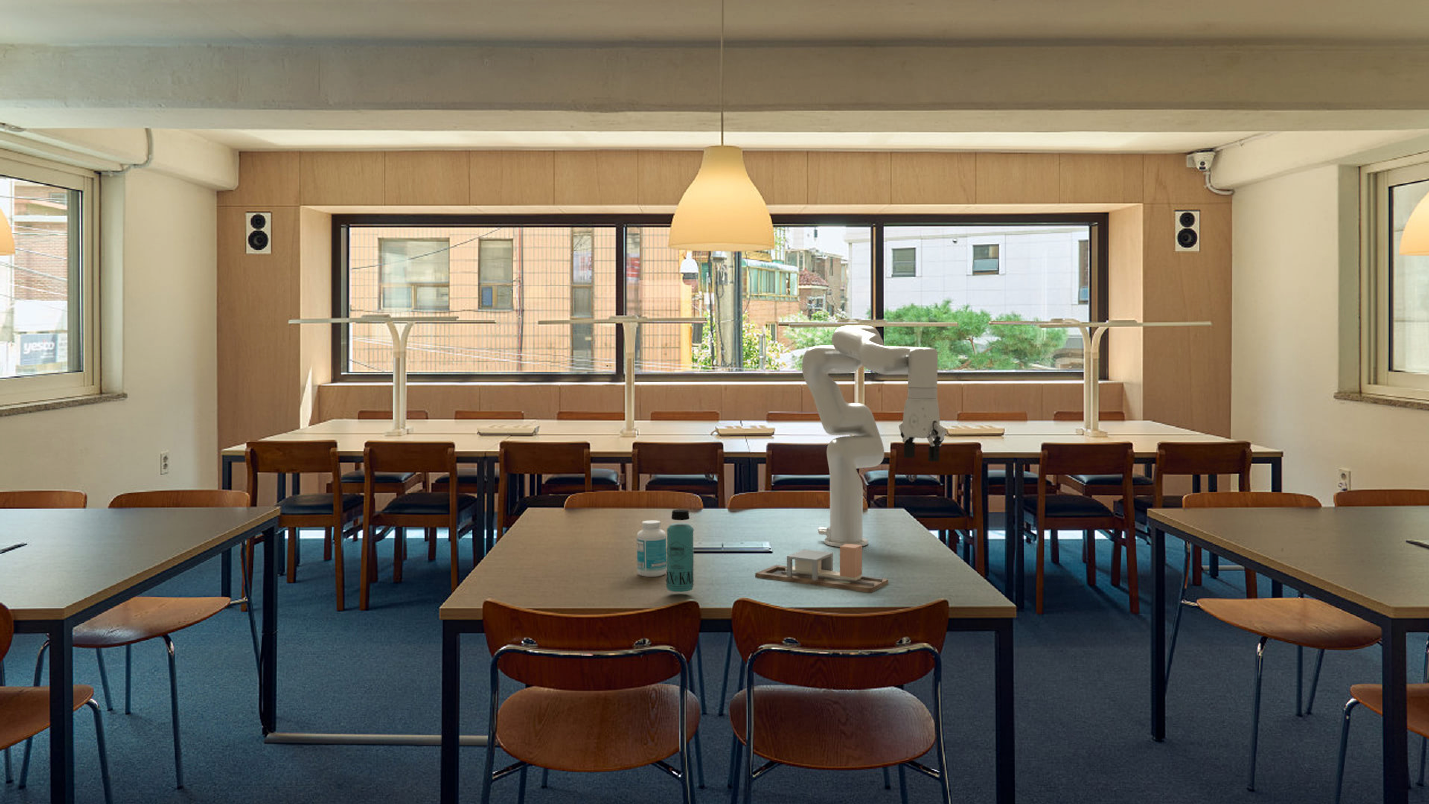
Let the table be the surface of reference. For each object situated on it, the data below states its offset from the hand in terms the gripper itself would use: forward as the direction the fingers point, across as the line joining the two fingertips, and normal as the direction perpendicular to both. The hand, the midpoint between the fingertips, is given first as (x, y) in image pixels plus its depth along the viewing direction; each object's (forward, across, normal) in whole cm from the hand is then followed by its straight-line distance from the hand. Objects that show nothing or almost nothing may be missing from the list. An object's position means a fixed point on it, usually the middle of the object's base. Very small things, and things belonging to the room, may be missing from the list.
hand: (921, 459), depth 258 cm
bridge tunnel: (+27, -1, -35) cm, 44 cm away
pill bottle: (+28, -24, -67) cm, 77 cm away
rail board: (+28, +2, -33) cm, 43 cm away
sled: (+27, +2, -33) cm, 42 cm away
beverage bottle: (+28, -2, -70) cm, 76 cm away
